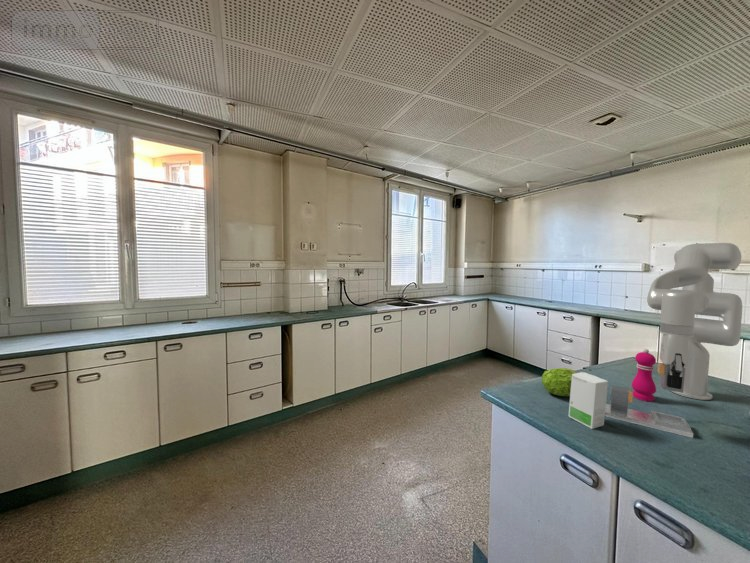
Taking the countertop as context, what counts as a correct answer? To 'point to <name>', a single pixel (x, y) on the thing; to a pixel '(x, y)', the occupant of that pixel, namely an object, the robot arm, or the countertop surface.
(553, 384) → the lettuce
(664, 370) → the grey block
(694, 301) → the robot arm
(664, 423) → the rail
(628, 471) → the countertop surface
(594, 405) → the skincare box
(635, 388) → the pepper mill
